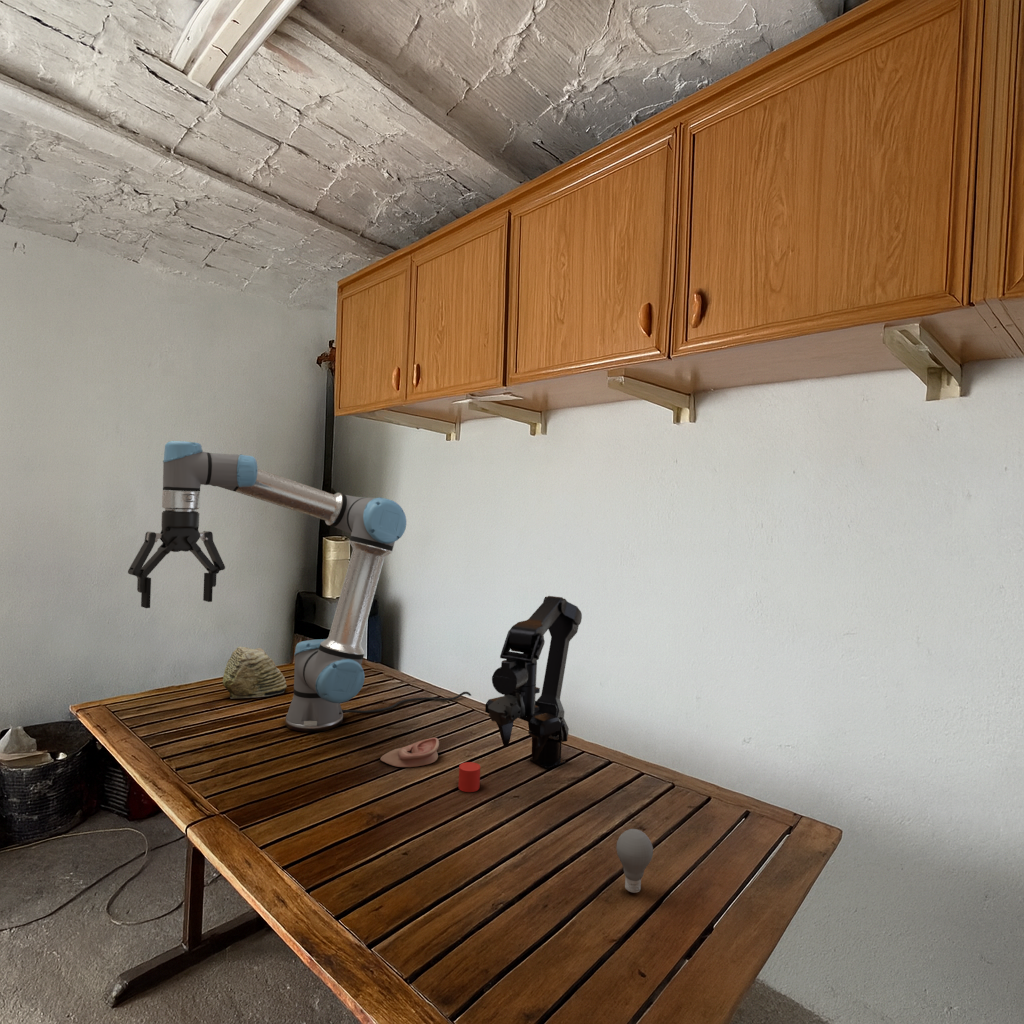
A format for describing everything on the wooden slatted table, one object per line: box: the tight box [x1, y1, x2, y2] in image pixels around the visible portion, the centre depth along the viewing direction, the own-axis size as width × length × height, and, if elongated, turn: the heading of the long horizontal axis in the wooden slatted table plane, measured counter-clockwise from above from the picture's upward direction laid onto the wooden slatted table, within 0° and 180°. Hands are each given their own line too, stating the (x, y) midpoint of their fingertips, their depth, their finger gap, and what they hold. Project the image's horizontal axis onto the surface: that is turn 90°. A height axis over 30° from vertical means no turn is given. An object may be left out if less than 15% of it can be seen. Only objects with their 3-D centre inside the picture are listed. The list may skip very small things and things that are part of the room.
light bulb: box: [615, 828, 654, 894], centre depth 106 cm, size 6×6×10 cm
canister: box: [457, 761, 481, 793], centre depth 141 cm, size 5×5×5 cm
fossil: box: [222, 646, 288, 699], centre depth 198 cm, size 9×18×15 cm, turn 132°
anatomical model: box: [379, 737, 440, 768], centre depth 155 cm, size 13×4×12 cm
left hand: (177, 604), depth 143 cm, fingers open, 13 cm apart
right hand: (519, 753), depth 140 cm, fingers open, 9 cm apart
